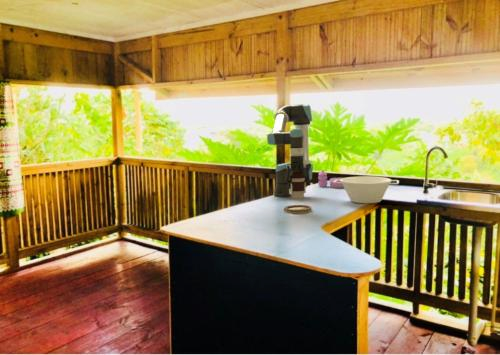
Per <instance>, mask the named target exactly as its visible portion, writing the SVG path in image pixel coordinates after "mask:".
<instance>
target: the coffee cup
mask: <svg viewBox="0 0 500 355" xmlns="http://www.w3.org/2000/svg"><path fill="white" fill-rule="evenodd" d="M305 177H306V175H304V174H303V172H295V173H293V175H292V176H290V175H289V178H292V181H291V183H292V195H291V196H290V197H291V198H292V199H302V198H304V197H305V193H304V189H305Z"/></svg>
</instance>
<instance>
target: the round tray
mask: <svg viewBox="0 0 500 355" xmlns="http://www.w3.org/2000/svg"><path fill="white" fill-rule="evenodd" d="M283 211H284V212H285V213H288V214H294V215H295V214H307V213H311V212H312V211H313V209H312V206H310V205H307V204H292V205H286V206H284V208H283Z"/></svg>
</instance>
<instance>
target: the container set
mask: <svg viewBox="0 0 500 355" xmlns="http://www.w3.org/2000/svg"><path fill="white" fill-rule="evenodd" d="M327 175H328V173H327V172H326V171H325V170H321V171H320V172H319V173H318V177H317V179H318V183H317V184H318V186H319V187H320V186H321V187H320V188H326V187H327V186H328V184H329V188H331V189H345V188H344V186H343V184H342V183H333V181H335V180H336V179H343V178H344V177H332V178H329V183H328V181H327V179H328V176H327ZM336 182H341V181H340V180H337V181H336Z"/></svg>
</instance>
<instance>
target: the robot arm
mask: <svg viewBox="0 0 500 355" xmlns="http://www.w3.org/2000/svg"><path fill="white" fill-rule="evenodd" d="M311 122H313V115H312V109H311V106H310V104H305V103H304V104H287V105H284V106H282V107H281V108H279V109H278V110H277V111H276V112H275V113H274V124H273V128H272V131H271V132H268V133H267V144H268V145H269V146H281V145H283V146H284V145H289V147H290V148H289V149H290V150H289V151H290V152H289V153H290V157H289V158H290V162H285V163H283V162H282V163H281V164H280V163H279V164H276V166H275V183H276V184H275V186H274V187H275V188H274V190H273V196H274V197H281V198H287V197H291V195H292V183H291V181H292V178H289V175H290V176H292V175H293V173H295V172H303V174H304V175H306V177H305V189H304V194H306V193H307V190H306V188H307V185H308V182H309V181H311V180H312V178H313V171H314V170H313V169H314V164H312V161H311V160H310V155H309V154H310V152H309V127H310V125H311ZM288 123H293V126H295V128H292V129H290V130H289V131H288V132H287V131H285V130H286V125H287V124H288Z"/></svg>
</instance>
